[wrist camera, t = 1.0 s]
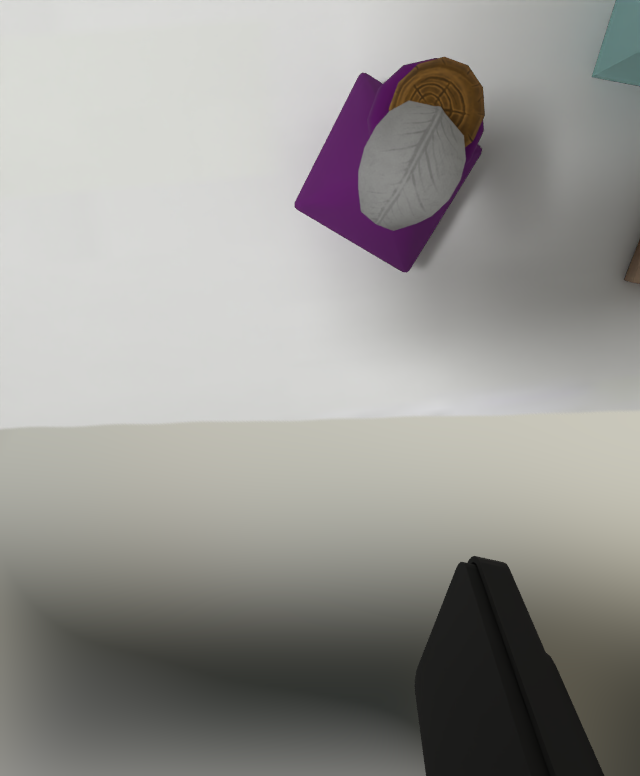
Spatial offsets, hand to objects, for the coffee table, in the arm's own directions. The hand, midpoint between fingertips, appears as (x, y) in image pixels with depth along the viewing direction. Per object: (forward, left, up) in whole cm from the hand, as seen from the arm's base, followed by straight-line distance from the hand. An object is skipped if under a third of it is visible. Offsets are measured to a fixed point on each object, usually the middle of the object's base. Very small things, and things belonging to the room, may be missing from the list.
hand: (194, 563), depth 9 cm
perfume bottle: (-8, +3, -26) cm, 27 cm away
